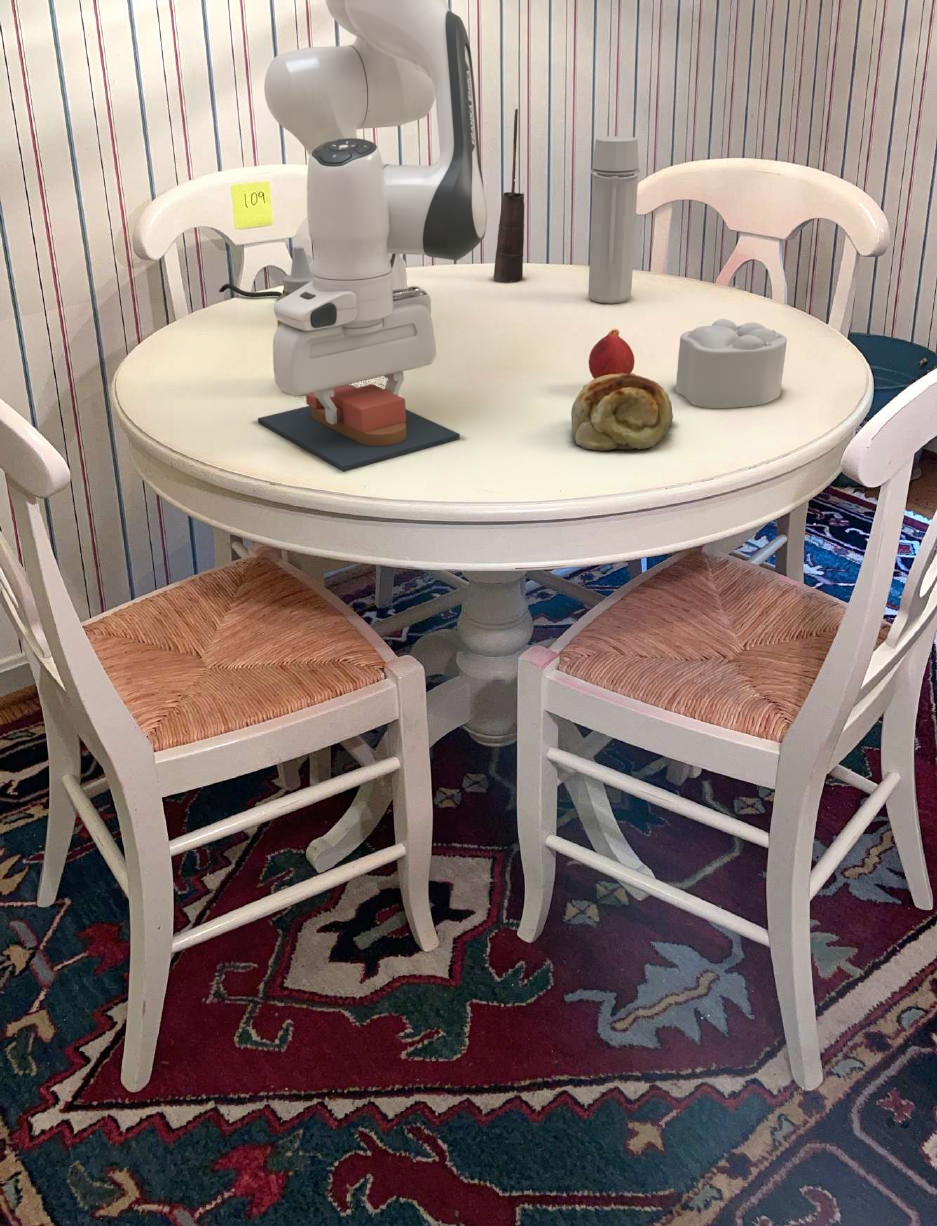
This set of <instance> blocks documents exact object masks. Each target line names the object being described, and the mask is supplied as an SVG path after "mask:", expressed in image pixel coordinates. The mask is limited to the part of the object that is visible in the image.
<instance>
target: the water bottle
mask: <svg viewBox="0 0 937 1226" xmlns="http://www.w3.org/2000/svg"><path fill="white" fill-rule="evenodd" d="M638 142H639V139H638V138H637V137H634V136H625V135H624V136H623V135H622V136H621V135H614V136H613V135H612V136H610V135H609V136H599V137H596V138H595V142H594V151H593V158H592V168H591V169H590V174H591V175H592V190H591V191H592V194H591V218H590V219H591V220H590V241H589V242H590V243H589V244H590V245H589V266H588V289H587V295H588V296H589V298H590V299H591V301H594V302H596V303H599V304H609V305H610V304H620V303H624V302H627V301H628V300H629V299H630V297H631V296H632V289H633V288H632V287H633V269H634V253H635V238H636V236H635V235H636V223H637V222H636V220H637V219H636V218H637V204H638V201H637V200H638V187H639V176H640V175H641V172H642V170H641V169H640V168H639V167H640V166H639V143H638Z"/></svg>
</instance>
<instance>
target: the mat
mask: <svg viewBox="0 0 937 1226" xmlns="http://www.w3.org/2000/svg"><path fill="white" fill-rule="evenodd" d="M405 410H406V422H405V423H406V438H405V440H403V441H402V442H400V443H397V444H394V445H389V446H368V445H363V444H361V443H358V442H357V441H355V440H353V439H351V438H349V437H347V436H345V435H343V434H341V433H339V432H337V431H335V430H334V429H332V428H330V427H328V426H326V425H324V424H322V423H320V422H318V421H316V420H315V419H313V418H312V416H311V406H309V405H307V406H302V407H298V408H295V409H290V410H287V411H282V412H278V413H274V414H269V415H265V416H261V417H258V418H257V422H258V424H259V425H262V426H263V427H265V428H267V429H268V430H269V431H272V432H274V433H276V434H278V435H279V436H280V437H283V438H285V439H286V440H288V441H290V442H292V443H294V444H295V445H297V446H298V447H300V448H302V449H304V450H306V451H307V452H309V453H311V454H312V455H314V456H316V457H318V458H320V459H322V460H323V461H324V462H326V463H329V465H332V466H334V467H336V468H337V469H339V470H341V471H342V472H345V471H350V470H353V469H356V468H360V467H364V466H367V465H370V464H374V463H379V462H381V461H386V460H388V459H391V458H395V457H399V456H402V455H406V454H410V453H413V452H417V451H421V450H423V449H427V448H430V447H435V446H438V445H442V444H445V443H449V442H452V441H456V440H459V439H461V434H460V433H459V432H456V431H454V430H452V429H450V428H448V427H446V426H443V425H441V424H439V423H436V422H435V421H433V420H430V419H428V418H426V417H424V416H422V415H420V414H417V413H415V412H413V411H411V410H408V409H406V408H405Z"/></svg>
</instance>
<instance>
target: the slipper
mask: <svg viewBox="0 0 937 1226" xmlns="http://www.w3.org/2000/svg"><path fill="white" fill-rule="evenodd" d="M384 389H385V388H382V387H379V386H377V385H375V384H373V383H370V384H367V385H362V386H358V387H356V386H354V385H351V384H347V385H343V386H339V387H335V388H334V396H333V397H330V399H331V400H332V402H333V403H334V405H337V406H338V407H341V408H343V417H344V421H343V422H340V423H337V424H333V425H332V424H330V423H328V422H327V421H326V416H325V407H323V405H322V404H321V403H320V401H319V400H318V398H317V397H316V396H315V392H314V393H309V394H305V401H306V405H307V406H311V416H312V418H313V419H315V420H316V421H318V422H320V423H322V424H324V425H326V426H328V427H330V428H332V429H334V430H335V431H337V432H339V433H341V434H343V435H345V436H347V437H349V438H351V439H353V440H355V441H357V442H358V443H361V444H363V445H368V446H389V445H394V444H397V443H400V442H402V441H403V440H405V438H406V423H405V422H406V410H407V409H406V398H404V397H402V396H399V395H398V394H397V395H396V394H393V393H391V392H389V391H387V390H384ZM405 409H406V410H405Z"/></svg>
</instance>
